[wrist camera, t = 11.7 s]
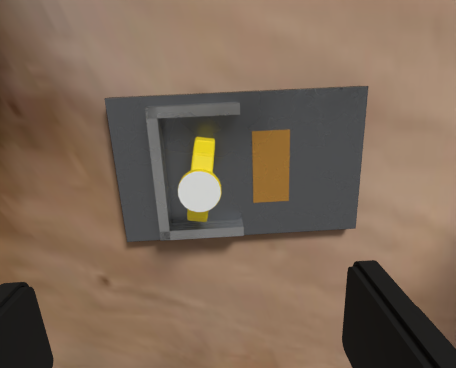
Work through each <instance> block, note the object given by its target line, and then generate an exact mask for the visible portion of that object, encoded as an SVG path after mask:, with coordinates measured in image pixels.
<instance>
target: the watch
mask: <svg viewBox="0 0 456 368" xmlns="http://www.w3.org/2000/svg"><path fill="white" fill-rule="evenodd" d="M214 150H215V139H213V138H204V137H196V138H195V142H194V148H193V155H192V164H191V171H189V172H187V173H186V174H185V175H184V176H183V177H182V179H181V180H180V183H179V186H178V197H179V199H180V201H181V203H182V204H183V205H184V206H185V207H186V208H187V219H188V220H189V221H198V222H206V221H207V218H208V211H209V210H210V209H212V208H213V207H215V206H216V205H217V203H218V202H219V200H220V197H221V193H222V192H221V184H220V181H219V179H218V178H217V176H216V175H215V174H214V173H213V163H214Z"/></svg>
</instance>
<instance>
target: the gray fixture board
mask: <svg viewBox="0 0 456 368" xmlns="http://www.w3.org/2000/svg"><path fill="white" fill-rule="evenodd" d="M367 95H368V86H350V87H329V88H307V89H285V90H264V91H242V92H220V93H199V94H177V95H156V96H134V97H112V98H105V104H106V110H107V117H108V123H109V129H110V136H111V142H112V148H113V155H114V161H115V167H116V174H117V180H118V186H119V193H120V199H121V205H122V212H123V218H124V224H125V231H126V237H127V242H132V241H149V240H161V241H163V240H180V239H197V238H214V237H231V236H244V235H251V234H268V233H285V232H302V231H319V230H336V229H353V228H356V218H357V206H358V195H359V184H360V173H361V162H362V151H363V140H364V129H365V117H366V106H367ZM196 137H204V138H213V139H215V150H214V163H213V173H214V174H215V175H216V176H217V178H218V179H219V181H220V184H221V192H222V193H221V197H220V200H219V202H218V203H217V205H216V206H215V207H213V208H212V209H210V210H209V211H208V218H207V221H206V222H198V221H189V220H188V219H187V208H186V207H185V206H184V205H183V204H182V203H181V201H180V199H179V197H178V186H179V183H180V180H181V179H182V177H183V176H184V175H185V174H186V173H187V172H189V171H191V164H192V155H193V148H194V142H195V138H196Z"/></svg>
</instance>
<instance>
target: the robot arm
mask: <svg viewBox="0 0 456 368" xmlns="http://www.w3.org/2000/svg"><path fill="white" fill-rule="evenodd" d="M342 342H343V347H344V350H345V353H346V355H347V357H348V359H349V361H350V363H351V366H352V368H456V349H455V348H454V347H453V345H452V344H451V343H450V342H449V341H448V340H447V339H446V338H445V336H444V335H443V334H442V333H441V332H440V331H439V330H438V329H437V327H436V326H435V325H434V324H433V323H432V322H431V321H430V320H429V318H428V317H427V316H426V315H425V314H424V313H423V312H422V311H421V310H420V309H419V308H418V307H417V306H416V305H415V304H414V303H413V302H412V301H411V300H410V299H409V297H408V296H407V295H406V294H405V293H404V292H403V291H402V289H401V288H400V287H399V286H398V285H397V284H396V283H395V282H394V280H393V279H392V278H391V277H390V276H389V275H388V274H387V272H386V271H385V270H384V269H383V268H382V267H381V266H380V265H379V263H378V262H376V261H374V260H372V261H356V262H354V264H353V267H349V268H348V272H347V285H346V297H345V309H344V322H343V334H342ZM52 367H53V355H52V351H51V348H50V344H49V341H48V337H47V334H46V330H45V327H44V323H43V319H42V316H41V312H40V309H39V305H38V302H37V298H36V295H35V291H34V289H33V288H32V287H29V286H28V284H27V283H25V282H16V283H4V284H1V285H0V368H52Z"/></svg>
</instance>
